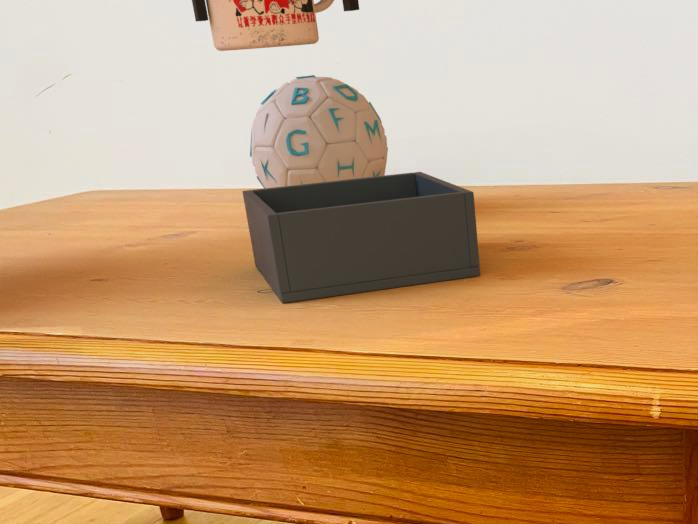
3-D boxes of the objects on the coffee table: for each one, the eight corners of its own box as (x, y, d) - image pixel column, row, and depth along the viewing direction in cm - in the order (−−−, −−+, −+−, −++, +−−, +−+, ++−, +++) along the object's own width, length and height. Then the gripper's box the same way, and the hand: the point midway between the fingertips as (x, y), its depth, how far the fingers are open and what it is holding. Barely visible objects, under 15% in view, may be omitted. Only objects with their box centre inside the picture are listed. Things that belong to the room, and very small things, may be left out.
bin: (282, 303, 85) (267, 215, 82) (255, 267, 99) (242, 190, 96) (480, 275, 90) (473, 191, 87) (428, 244, 104) (420, 171, 101)
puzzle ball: (407, 204, 129) (392, 68, 122) (378, 227, 115) (359, 75, 109) (285, 210, 130) (264, 76, 124) (242, 233, 117) (216, 84, 110)
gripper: (55, -326, 73) (129, 24, 83) (396, -318, 81) (428, 4, 90) (57, -296, 80) (126, 26, 89) (373, -291, 87) (405, 7, 97)
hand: (278, 16), depth 90 cm, fingers closed on teacup with lid, 12 cm apart
